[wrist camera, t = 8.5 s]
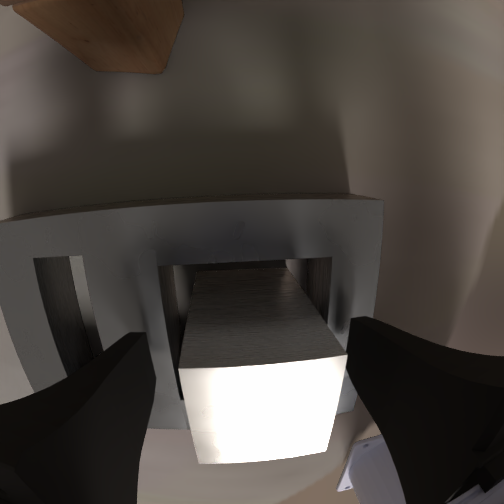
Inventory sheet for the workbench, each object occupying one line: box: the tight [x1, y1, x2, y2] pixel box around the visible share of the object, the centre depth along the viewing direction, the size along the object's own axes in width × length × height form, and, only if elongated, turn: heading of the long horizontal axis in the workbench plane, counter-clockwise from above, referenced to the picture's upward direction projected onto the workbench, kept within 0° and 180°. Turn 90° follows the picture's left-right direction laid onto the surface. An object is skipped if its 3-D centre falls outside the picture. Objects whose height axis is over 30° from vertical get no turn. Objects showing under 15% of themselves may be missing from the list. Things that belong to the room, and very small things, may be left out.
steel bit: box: [178, 267, 348, 464], centre depth 10 cm, size 4×4×7 cm
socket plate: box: [0, 193, 384, 429], centre depth 12 cm, size 16×10×3 cm, turn 91°
